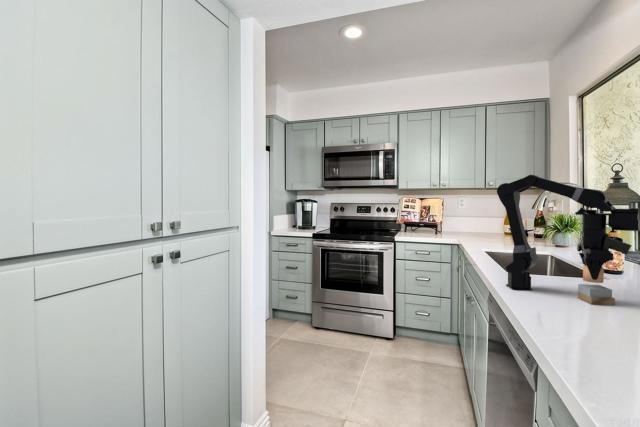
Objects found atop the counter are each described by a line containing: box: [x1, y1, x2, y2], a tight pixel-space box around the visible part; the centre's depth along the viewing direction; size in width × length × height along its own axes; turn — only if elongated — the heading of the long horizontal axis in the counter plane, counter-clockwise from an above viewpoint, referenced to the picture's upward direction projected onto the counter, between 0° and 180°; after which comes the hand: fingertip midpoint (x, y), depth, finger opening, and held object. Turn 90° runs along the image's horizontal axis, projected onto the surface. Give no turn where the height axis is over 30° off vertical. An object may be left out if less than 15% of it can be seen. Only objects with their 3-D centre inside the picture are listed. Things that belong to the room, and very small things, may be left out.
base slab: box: [577, 291, 616, 306], centre depth 102 cm, size 6×6×2 cm
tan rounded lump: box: [582, 265, 605, 284], centre depth 102 cm, size 5×5×4 cm
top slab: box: [577, 283, 613, 298], centre depth 103 cm, size 6×6×2 cm
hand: (593, 277), depth 102 cm, fingers closed on tan rounded lump, 5 cm apart
